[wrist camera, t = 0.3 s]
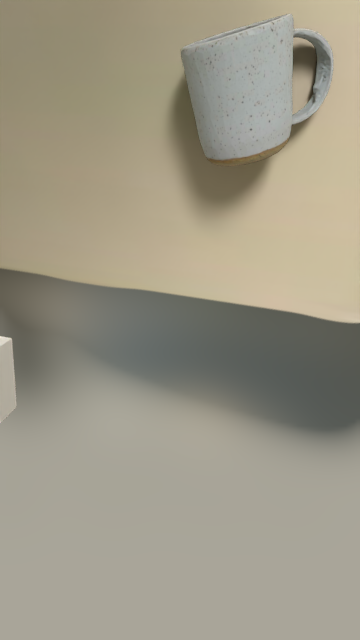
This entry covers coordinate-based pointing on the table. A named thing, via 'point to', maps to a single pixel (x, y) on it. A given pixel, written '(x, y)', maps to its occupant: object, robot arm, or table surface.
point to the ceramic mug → (250, 88)
